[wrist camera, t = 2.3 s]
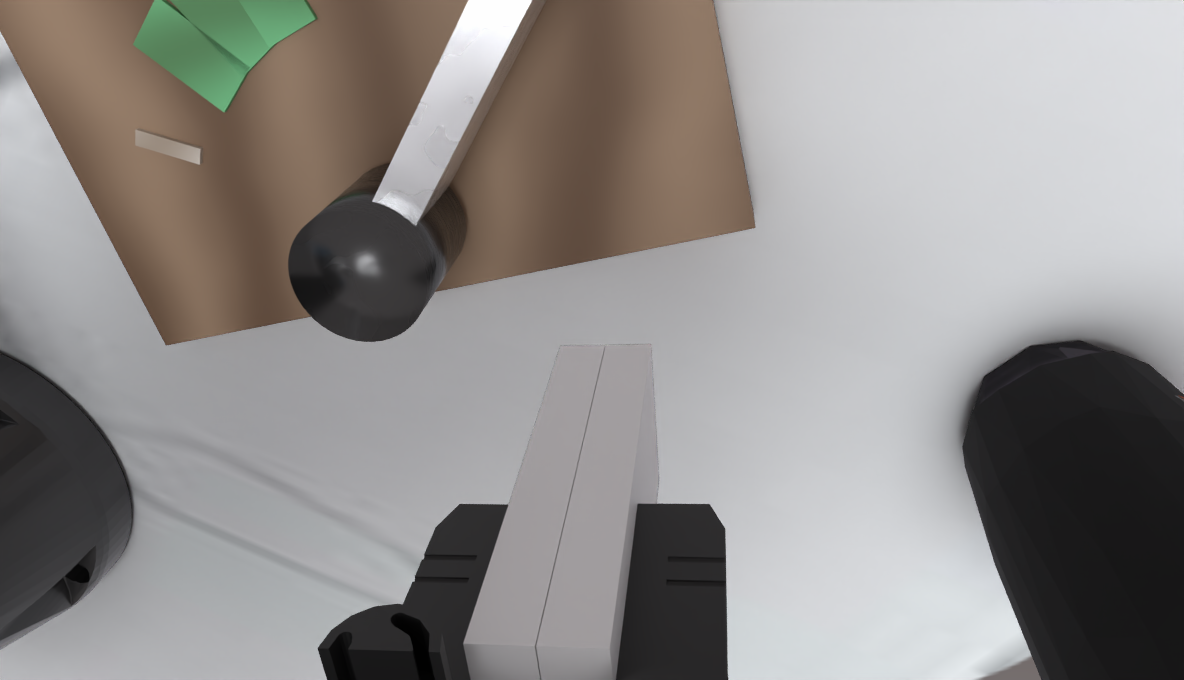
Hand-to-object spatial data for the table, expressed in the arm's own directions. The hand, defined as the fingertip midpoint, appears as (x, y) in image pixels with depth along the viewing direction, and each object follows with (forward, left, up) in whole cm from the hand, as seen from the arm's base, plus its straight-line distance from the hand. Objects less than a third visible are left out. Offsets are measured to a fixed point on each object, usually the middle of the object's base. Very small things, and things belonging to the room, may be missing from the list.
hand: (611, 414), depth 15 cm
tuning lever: (-6, +2, -16) cm, 18 cm away
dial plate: (-9, +4, -18) cm, 21 cm away
